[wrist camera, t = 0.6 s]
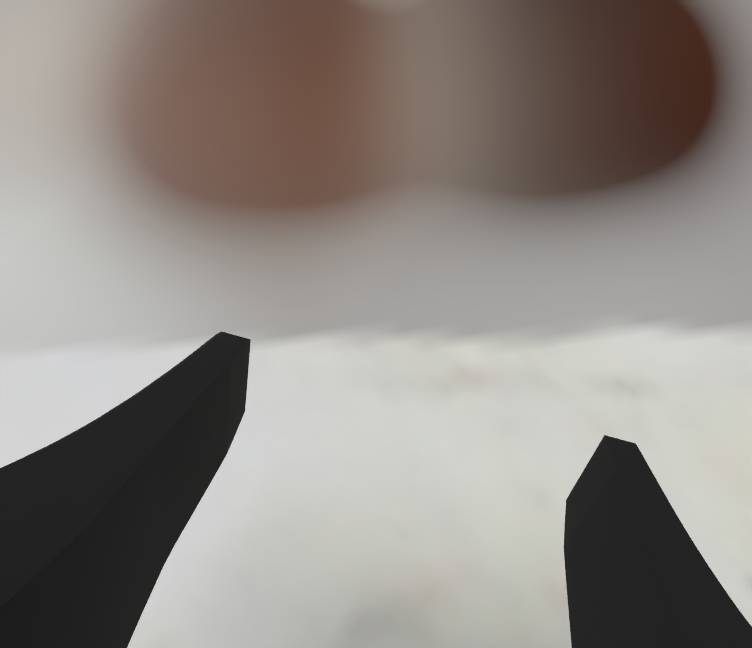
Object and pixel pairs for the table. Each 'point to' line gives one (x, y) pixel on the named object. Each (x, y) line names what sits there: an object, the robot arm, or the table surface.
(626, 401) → the table surface
